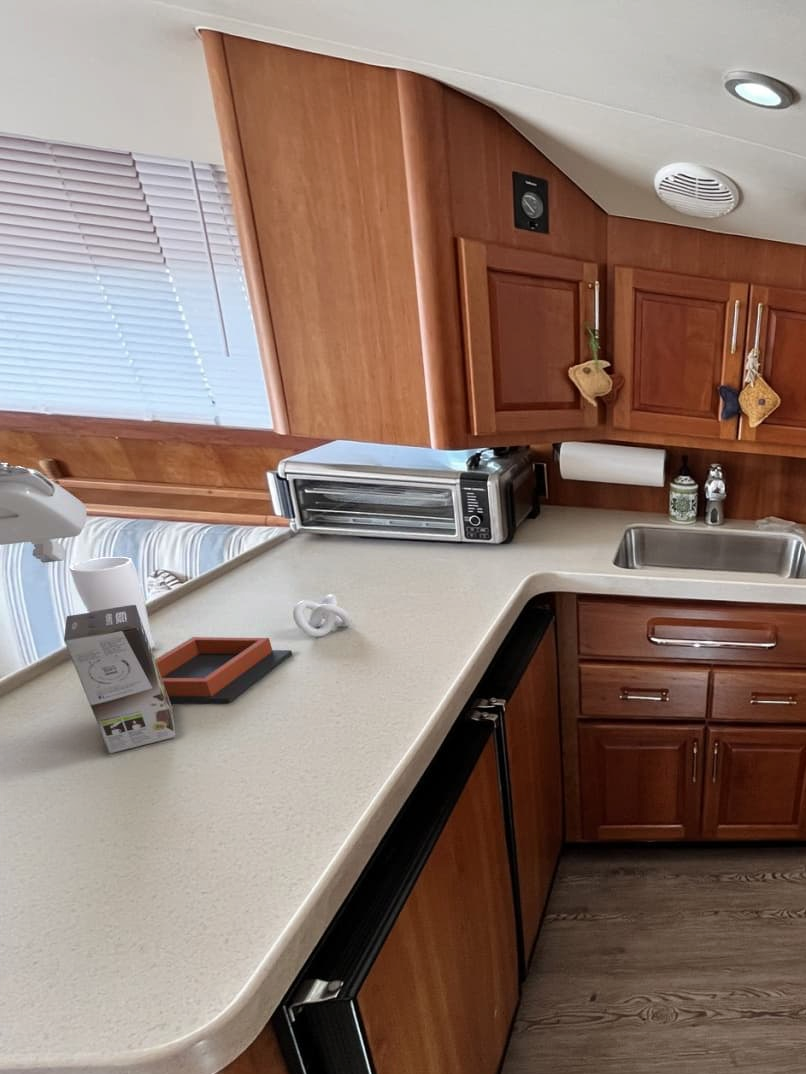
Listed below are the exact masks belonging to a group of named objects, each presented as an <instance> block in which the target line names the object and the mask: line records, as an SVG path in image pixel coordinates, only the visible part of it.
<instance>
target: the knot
mask: <svg viewBox="0 0 806 1074" xmlns="http://www.w3.org/2000/svg"><path fill="white" fill-rule="evenodd" d="M338 603H339V601H338V598H337V596H336V595H335V594H332V593H330V594H327V595H326V596H325V597H324V598H323V599H322V600H321V602H320V603H318V602H316V601H313V600H309V599H308V600H307V599H305V600H301V601H299V602H298V603H296V604H295V605H294V607H293V610H292V617H293V620H294V623H295V625H296V626H297V627H298V629H299V630H301V631H302V632H303V633H304V634H306V635H308V636H311V637H315V638H319V637H324V636H326V635H327V634H329V633H331V631H332V629H333V628H334V626H337V627H341V628H345V627H349V626H350V625H351V624H352V621H353V620H352V616H351V614H350V613H349V612H348V611H346V610H345V609H344V608H342V607H341V606H338ZM306 609H309V610H311V613H310V615H309V620H308V621H307V620H306V617H305V610H306ZM323 619H324V622H323V624H322V626H321V627H319V626H320V625H321V623H322V621H323Z"/></svg>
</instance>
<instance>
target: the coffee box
mask: <svg viewBox="0 0 806 1074" xmlns="http://www.w3.org/2000/svg"><path fill="white" fill-rule="evenodd" d="M63 641H64V643H65V645H66V648H67V650H68V653H69V656H70V658H71V661H72V663H73V666H74V668H75V672H76V674H77V675H78V678H79V681H80V683H81V686H82V688H83V691H84V693H85V695H86V698H87V701H88V703H89V705H90V708H91V710H92V713H93V715H94V718H95V720H96V723H97V725H98V729H99V730H100V733H101V735H102V738H103V740H104V743H105V746H106V748H107V751H108V753H109V754H113V753H118V752H122V751H125V750H129V749H133V748H137V747H141V746H144V745H145V746H146V745H149V744H153V743H157V742H161V741H164V740H169V739H173V738H175V737H176V729H175V721H174V713H173V712H174V711H173V706H172V703H170V700H169V697H168V694H167V691H166V689H165V686H164V683H163V680H162V677H161V675H160V672H159V669H158V666H157V663H156V661H155V659H156V658H155V655H154V653H153V649H151V647H150V644H149V641H148V638H147V636H146V633H145V630H144V627H143V625H142V622H141V619H140V616H139V613H138V610H137V607H136V605H129V606H123V607H116V608H110V609H105V610H99V611H93V612H90V613H88V612H86V613H85V612H84V613H79V614H78V613H77V614H72V615H67V616H66V619H65V629H64V638H63Z"/></svg>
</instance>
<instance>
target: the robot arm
mask: <svg viewBox="0 0 806 1074" xmlns="http://www.w3.org/2000/svg"><path fill="white" fill-rule="evenodd" d="M87 512H88V511H87V507H86V505H85V504H84V502H82V501H81V500H80V499H79V498H77V496H74V495H73V494H72V493H71V492H69V490H66V489H65V488H63V487H62V486H60V485H59V484H57V482H54V481H53V480H51V479H49V478H47V476H45V475H44V474H42V473H41V472H40V471H38V470H36V469H34V468H26V467H21V466H12V465H10V464H8V463H7V462H0V546H5V545H12V544H20V543H31V544H32V545H33V547H34V549H33V550H32V557H34V558H35V559H38V560H40V562H41V563H44V564H45V563H55V562H61V561H64V560H65V555H66V550H65V547H64V546H63V545H61V544H60V543H59V542H58V541H57V539H67V538H73V537H74V538H75V537H78V536H79V535H81V533H82V532H83V530H84V528H85V525H86V521H87Z"/></svg>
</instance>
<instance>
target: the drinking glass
mask: <svg viewBox="0 0 806 1074" xmlns="http://www.w3.org/2000/svg"><path fill="white" fill-rule="evenodd" d="M69 572H70V576H71V578H72V581H73V584H74V586H75V589H76V592H77V594H78V595H79V598H80V600H81V601H82V603H83V605H84V607H85V609H86V611H87V613H90V612H93V611H99V610H105V609H110V608H116V607H123V606H129V605H136V607H137V610H138V613H139V616H140V619H141V622H142V625H143V627H144V630H145V633H146V636H147V638H148V641H149V644H150V647H151V650H153V649H154V647H155V646H156V641H155V638H154V635H153V632H152V628H151V624H150V619H149V615H148V610H147V605H146V602H145V597H144V592H143V587H142V584H141V580H140V577H139V574H138V571H137V569H136V567H135V564H134V562H133V560H132V559H131V558H129V557H126V556H105V557H96V558H91V559H87V560H82V561H79V562H76V563H73V564H72V565H70V566H69Z"/></svg>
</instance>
